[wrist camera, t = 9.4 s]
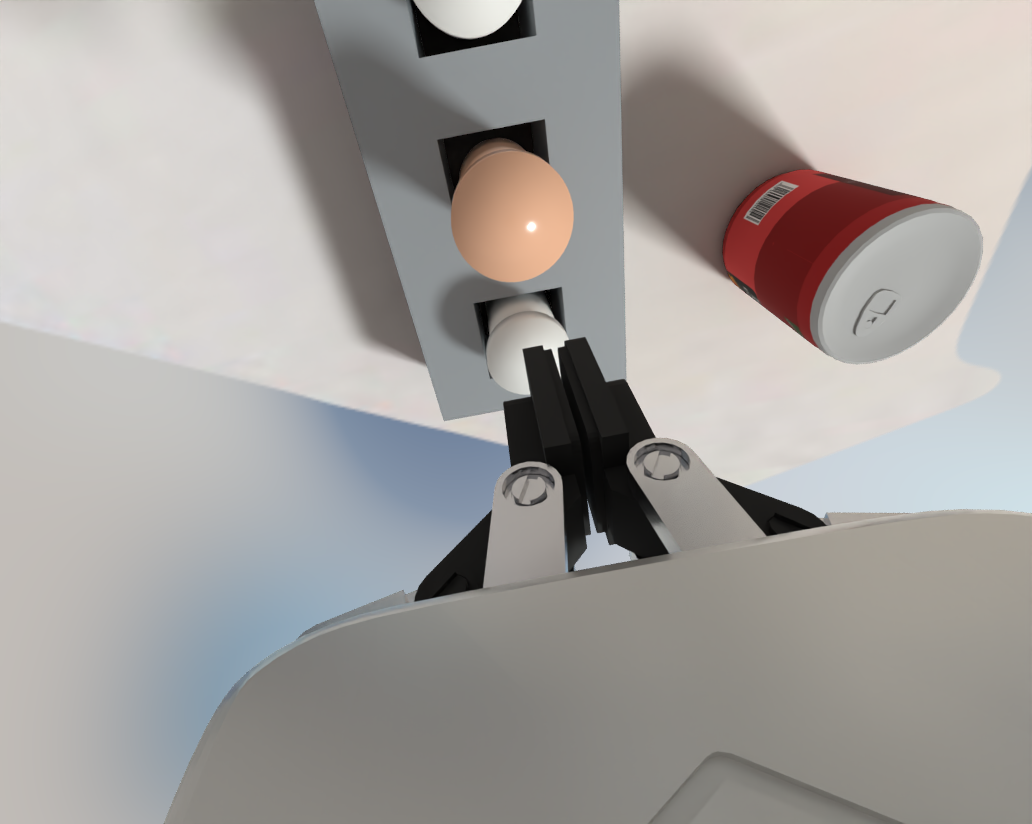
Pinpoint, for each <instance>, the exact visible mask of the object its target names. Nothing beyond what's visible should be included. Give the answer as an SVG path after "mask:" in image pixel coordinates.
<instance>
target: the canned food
mask: <svg viewBox="0 0 1032 824" xmlns="http://www.w3.org/2000/svg"><path fill="white" fill-rule="evenodd" d="M722 253H723V260H724V264H725V267H726V270H727V272H728V275H729V277H730V279H731V280H732V281H733V283H734V284H735V285H736V286H738V287H739V288H740V289H741V290H743V291H744V292H745V293H746V294H748V295H749V296H750V297H752V298H753V299H754V300H756V301H757V302H758V303H759V304H761V305H762V306H763V307H765V308H766V309H767V310H769V311H770V312H771V313H772V314H774V315H775V316H776V317H778V318H779V319H780V320H782V321H783V322H784V323H785V324H787V325H788V326H789V327H791V328H792V329H793V330H795V331H796V332H797V333H798V334H800V335H801V336H802V337H804V338H805V339H806V340H807V341H809V342H810V343H811V344H813V345H814V346H816V347H817V348H819V349H820V350H821V351H823V352H824V353H825V354H827V355H829V356H831V357H833V358H834V359H836V360H839V361H841V362H844V363H849V364H868V363H873V362H877V361H882V360H885V359H887V358H890V357H893V356H895V355H898V354H900V353H902V352H903V351H905V350H907V349H909V348H911V347H913V346H914V345H916V344H917V343H919V342H920V341H921V340H923V339H924V338H926V337H927V336H929V335H930V334H931V333H932V332H933V331H934V330H936V329H937V328H938V327H939V326H940V325H941V324H942V323H943V322H944V321H945V320H946V319H947V318H948V317H949V316H950V315H951V314H952V313H953V312H954V311H955V309H956V308H957V307H958V305H959V304H960V303H961V301H962V300H963V299H964V297H965V296H966V294H967V292H968V291H969V289H970V287H971V285H972V284H973V282H974V280H975V277H976V275H977V272H978V270H979V267H980V264H981V259H982V254H983V237H982V234H981V231H980V228H979V226H978V224H977V223H976V222H975V221H974V219H973V218H972V217H971V216H969V215H967V214H966V213H964V212H962V211H960V210H957V209H955V208H953V207H952V206H948V205H945V204H941V203H937V202H935V201H932V200H928V199H924V198H920V197H916V196H913V195H909V194H905V193H901V192H897V191H893V190H889V189H885V188H882V187H878V186H874V185H870V184H866V183H862V182H858V181H854V180H850V179H847V178H843V177H839V176H835V175H831V174H827V173H823V172H819V171H815V170H796V171H792V172H788V173H785V174H781V175H778V176H776V177H774V178H771V179H769V180H767V181H766V182H764V183H763V184H761V185H760V186H758V187H757V188H756V189H755V190H754V191H752V192H751V193H750V194H749V195H748V196H747V197H746V198H745V199H744V201H743V202H742V203H741V204H740V206H739V207H738V208H737V210H736V211H735V213H734V215H733V216H732V218H731V220H730V222H729V225H728V227H727V229H726V233H725V237H724V241H723V252H722Z"/></svg>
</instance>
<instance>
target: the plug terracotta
mask: <svg viewBox="0 0 1032 824" xmlns="http://www.w3.org/2000/svg"><path fill="white" fill-rule="evenodd" d="M573 221H574V211H573V203H572V199H571V196H570V193H569V190H568V188H567V186H566V184H565V182H564V181H563V179H562V178H561V176H560V175H559V174H558V173H557V172H556V171H555V170H554V169H553V168H552V167H551V166H550V165H549V164H548V163H547V162H546V161H545V160H543V159H542V158H540V157H539V156H537V155H535V154H533V153H530V152H527V151H526V150H525V149H524V148H523V147H521V146H520V145H519V144H517V143H515V142H514V141H511V140H509V139H505V138H491V139H487V140H484V141H482V142H480V143H478V144H477V145H475V146H474V147H473V148H472V149H471V150H470V151H469V152H468V154H467V155H466V157H465V158H464V160H463V162H462V165H461V168H460V173H459V182H458V184H457V186H456V189H455V192H454V195H453V200H452V207H451V228H452V234H453V237H454V240H455V243H456V245H457V248H458V250H459V251H460V253H461V255H462V256H463V258H464V259H465V260H466V262H467V263H468V264H469V265H470V266H471V267H472V268H474V269H475V270H476V271H478V272H479V273H481V274H482V275H484V276H486V277H488V278H491V279H494V280H497V281H502V282H520V281H525V280H529V279H532V278H534V277H536V276H538V275H540V274H542V273H544V272H545V271H546V270H548V269H549V268H550V267H551V266H552V265H554V264H555V263H556V261H557V260H558V259H559V258H560V257H561V255H562V254H563V252H564V251H565V249H566V247H567V245H568V242H569V240H570V237H571V233H572V229H573Z"/></svg>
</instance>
